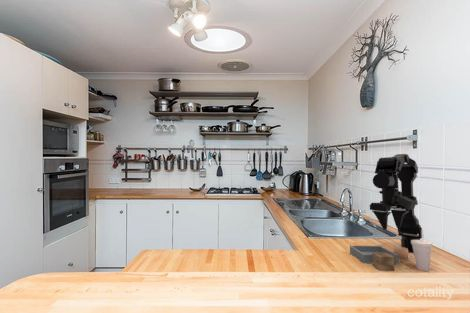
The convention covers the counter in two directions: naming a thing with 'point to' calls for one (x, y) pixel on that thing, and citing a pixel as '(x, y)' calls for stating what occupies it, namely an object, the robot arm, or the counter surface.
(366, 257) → the tray
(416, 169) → the robot arm
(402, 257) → the brown short cylinder
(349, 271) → the counter surface
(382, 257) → the walnut block
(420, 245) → the smoothie
